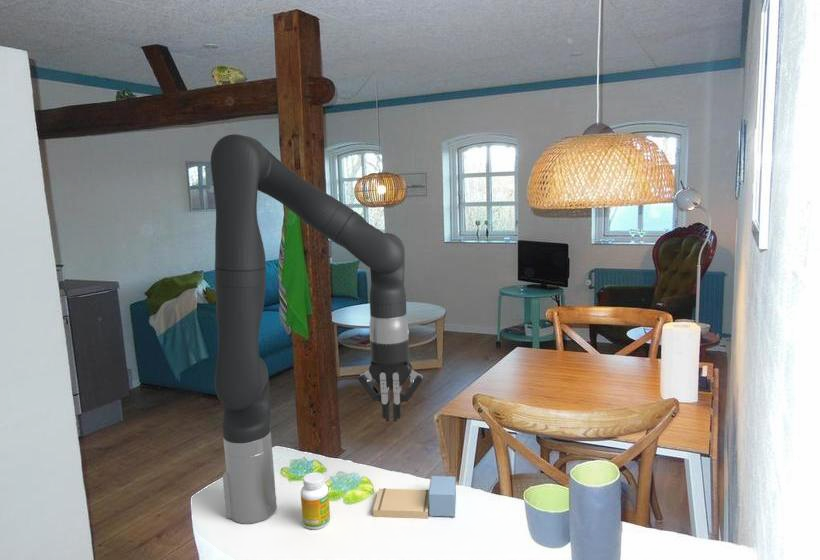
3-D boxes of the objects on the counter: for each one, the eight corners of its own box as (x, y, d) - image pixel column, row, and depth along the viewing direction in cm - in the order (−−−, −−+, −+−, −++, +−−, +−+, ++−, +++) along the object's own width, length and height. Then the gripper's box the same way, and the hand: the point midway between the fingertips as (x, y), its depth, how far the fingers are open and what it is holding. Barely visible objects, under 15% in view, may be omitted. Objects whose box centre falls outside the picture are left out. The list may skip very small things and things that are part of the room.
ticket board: (373, 516, 119) (373, 509, 119) (379, 494, 127) (379, 488, 126) (428, 518, 118) (427, 511, 117) (430, 496, 126) (430, 489, 125)
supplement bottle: (324, 531, 115) (322, 485, 113) (298, 529, 116) (295, 483, 114) (333, 515, 120) (331, 471, 118) (308, 513, 121) (305, 469, 119)
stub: (428, 515, 118) (428, 494, 117) (431, 496, 125) (430, 476, 124) (454, 516, 118) (454, 495, 117) (455, 497, 124) (455, 476, 124)
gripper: (351, 342, 113) (355, 427, 116) (422, 342, 111) (424, 428, 114) (358, 331, 120) (362, 411, 123) (425, 331, 118) (427, 412, 122)
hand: (392, 419), depth 119 cm, fingers closed
